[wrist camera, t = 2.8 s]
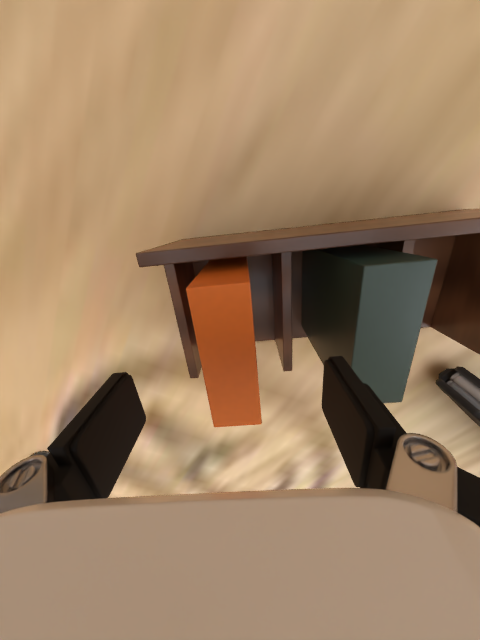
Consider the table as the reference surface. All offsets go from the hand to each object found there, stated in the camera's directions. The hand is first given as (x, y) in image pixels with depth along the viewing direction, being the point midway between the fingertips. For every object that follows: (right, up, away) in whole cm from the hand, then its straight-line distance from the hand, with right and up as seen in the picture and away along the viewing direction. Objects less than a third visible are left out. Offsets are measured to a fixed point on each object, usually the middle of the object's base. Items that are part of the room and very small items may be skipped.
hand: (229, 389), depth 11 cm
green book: (+9, +7, +13) cm, 17 cm away
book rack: (+9, +7, +13) cm, 18 cm away
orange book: (0, +6, +13) cm, 15 cm away
